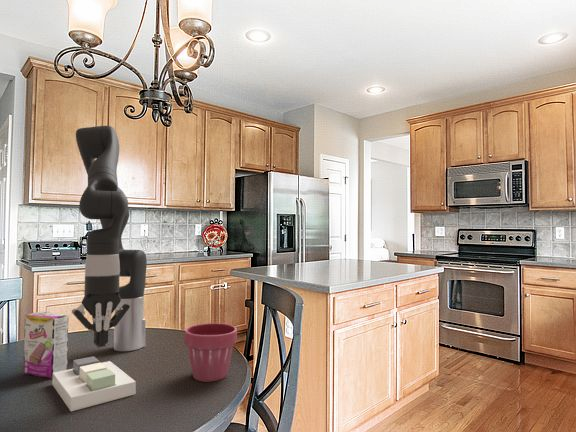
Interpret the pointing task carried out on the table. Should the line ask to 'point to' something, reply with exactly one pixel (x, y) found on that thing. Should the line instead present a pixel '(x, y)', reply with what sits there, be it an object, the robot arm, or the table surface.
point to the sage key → (100, 379)
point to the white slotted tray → (82, 397)
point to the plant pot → (210, 349)
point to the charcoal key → (83, 363)
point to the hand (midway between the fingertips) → (100, 346)
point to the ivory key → (90, 370)
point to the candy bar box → (45, 344)
